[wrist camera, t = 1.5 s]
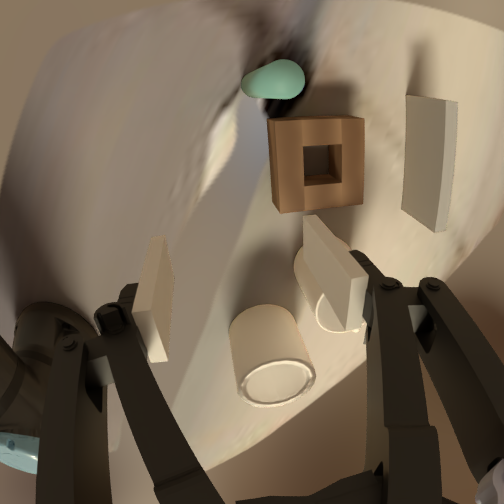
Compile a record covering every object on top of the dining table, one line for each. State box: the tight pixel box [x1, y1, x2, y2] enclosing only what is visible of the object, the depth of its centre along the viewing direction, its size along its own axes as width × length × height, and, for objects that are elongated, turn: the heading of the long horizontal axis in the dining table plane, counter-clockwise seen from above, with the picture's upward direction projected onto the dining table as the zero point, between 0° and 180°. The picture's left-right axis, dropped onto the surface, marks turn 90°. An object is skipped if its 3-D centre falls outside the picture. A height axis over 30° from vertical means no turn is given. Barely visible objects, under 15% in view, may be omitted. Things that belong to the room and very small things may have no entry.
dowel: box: [241, 60, 305, 99], centre depth 26 cm, size 3×3×13 cm
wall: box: [401, 95, 458, 233], centre depth 34 cm, size 2×16×8 cm, turn 4°
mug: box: [229, 304, 316, 408], centre depth 44 cm, size 14×10×11 cm
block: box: [267, 115, 365, 214], centre depth 35 cm, size 10×10×4 cm
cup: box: [294, 237, 366, 333], centre depth 40 cm, size 8×12×10 cm
